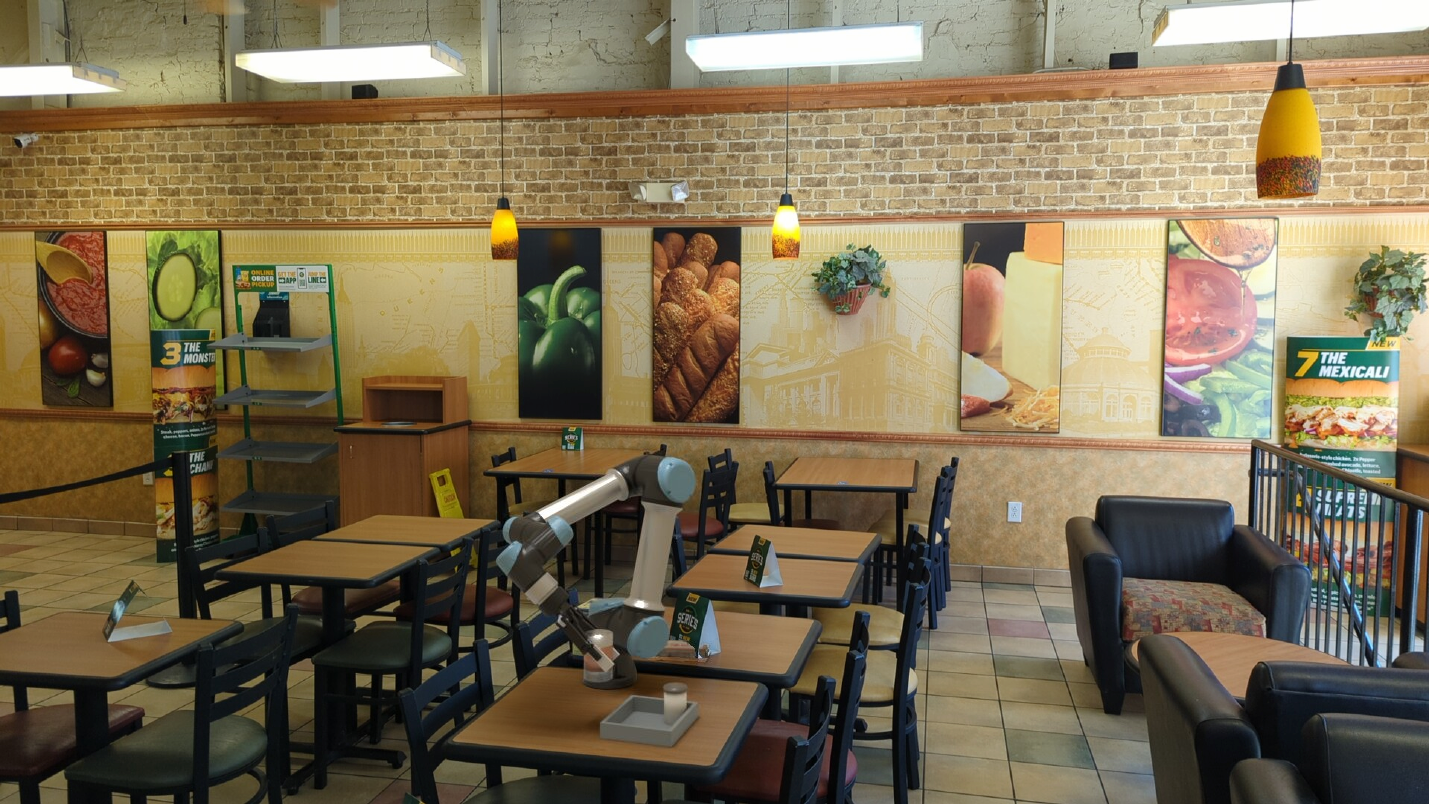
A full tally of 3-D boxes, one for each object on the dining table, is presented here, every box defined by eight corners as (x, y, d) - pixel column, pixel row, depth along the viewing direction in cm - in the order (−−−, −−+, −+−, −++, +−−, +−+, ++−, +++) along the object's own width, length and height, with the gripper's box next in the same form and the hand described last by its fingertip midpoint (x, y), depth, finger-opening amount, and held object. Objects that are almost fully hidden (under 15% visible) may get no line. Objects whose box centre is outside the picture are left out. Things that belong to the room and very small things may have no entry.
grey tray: (600, 741, 234) (599, 722, 234) (631, 712, 254) (631, 695, 253) (671, 750, 229) (671, 731, 229) (698, 720, 248) (698, 702, 248)
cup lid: (658, 691, 244) (658, 688, 244) (670, 684, 249) (670, 681, 249) (679, 695, 241) (680, 692, 241) (691, 688, 246) (691, 684, 246)
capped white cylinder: (660, 724, 243) (660, 692, 243) (668, 716, 249) (668, 684, 248) (682, 726, 242) (682, 694, 241) (689, 718, 247) (689, 687, 247)
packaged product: (711, 638, 304) (706, 648, 294) (711, 654, 304) (706, 664, 294) (654, 636, 306) (647, 645, 296) (654, 651, 306) (647, 661, 297)
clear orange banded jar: (578, 680, 240) (579, 635, 240) (591, 671, 247) (592, 628, 246) (605, 683, 238) (605, 638, 237) (617, 674, 245) (617, 631, 244)
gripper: (547, 595, 253) (609, 660, 252) (526, 616, 233) (594, 687, 232) (567, 576, 252) (630, 641, 252) (549, 595, 232) (616, 665, 232)
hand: (612, 663), depth 242 cm, fingers closed on clear orange banded jar, 7 cm apart
